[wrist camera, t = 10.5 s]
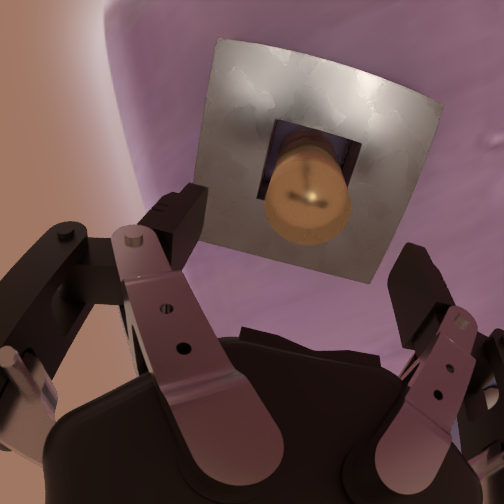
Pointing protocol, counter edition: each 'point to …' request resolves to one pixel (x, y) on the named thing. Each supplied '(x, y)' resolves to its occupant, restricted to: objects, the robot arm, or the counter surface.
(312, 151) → the pipe stub
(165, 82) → the counter surface
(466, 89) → the counter surface
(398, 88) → the block
